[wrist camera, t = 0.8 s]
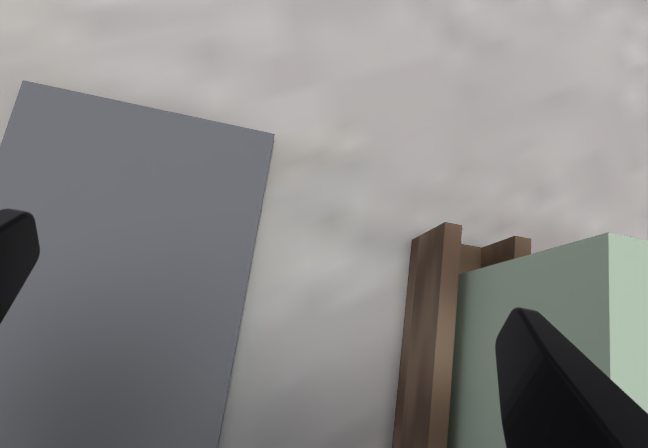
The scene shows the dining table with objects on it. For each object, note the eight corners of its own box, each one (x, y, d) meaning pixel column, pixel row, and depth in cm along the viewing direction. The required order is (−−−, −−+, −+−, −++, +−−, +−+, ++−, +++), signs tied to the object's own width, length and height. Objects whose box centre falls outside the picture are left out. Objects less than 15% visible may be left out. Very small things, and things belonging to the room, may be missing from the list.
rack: (562, 656, 22) (633, 724, 18) (373, 647, 20) (406, 717, 17) (566, 268, 27) (623, 257, 23) (412, 239, 25) (445, 221, 21)
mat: (202, 526, 20) (202, 530, 20) (-113, 499, 18) (-122, 503, 18) (273, 137, 25) (274, 134, 24) (26, 85, 23) (22, 80, 23)
